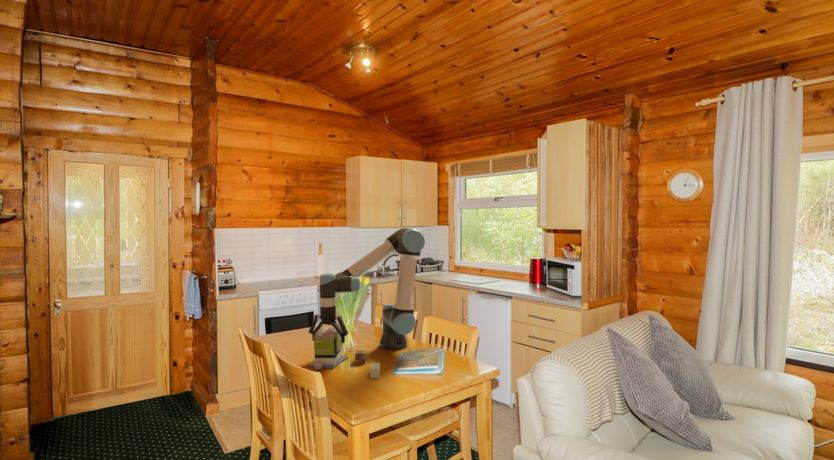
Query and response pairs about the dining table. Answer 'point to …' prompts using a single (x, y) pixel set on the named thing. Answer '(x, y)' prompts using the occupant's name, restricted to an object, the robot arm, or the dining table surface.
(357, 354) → the walnut cube
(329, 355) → the tea box
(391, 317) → the robot arm
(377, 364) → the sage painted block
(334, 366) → the slate trivet
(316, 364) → the grey rubber ball
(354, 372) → the dining table surface
